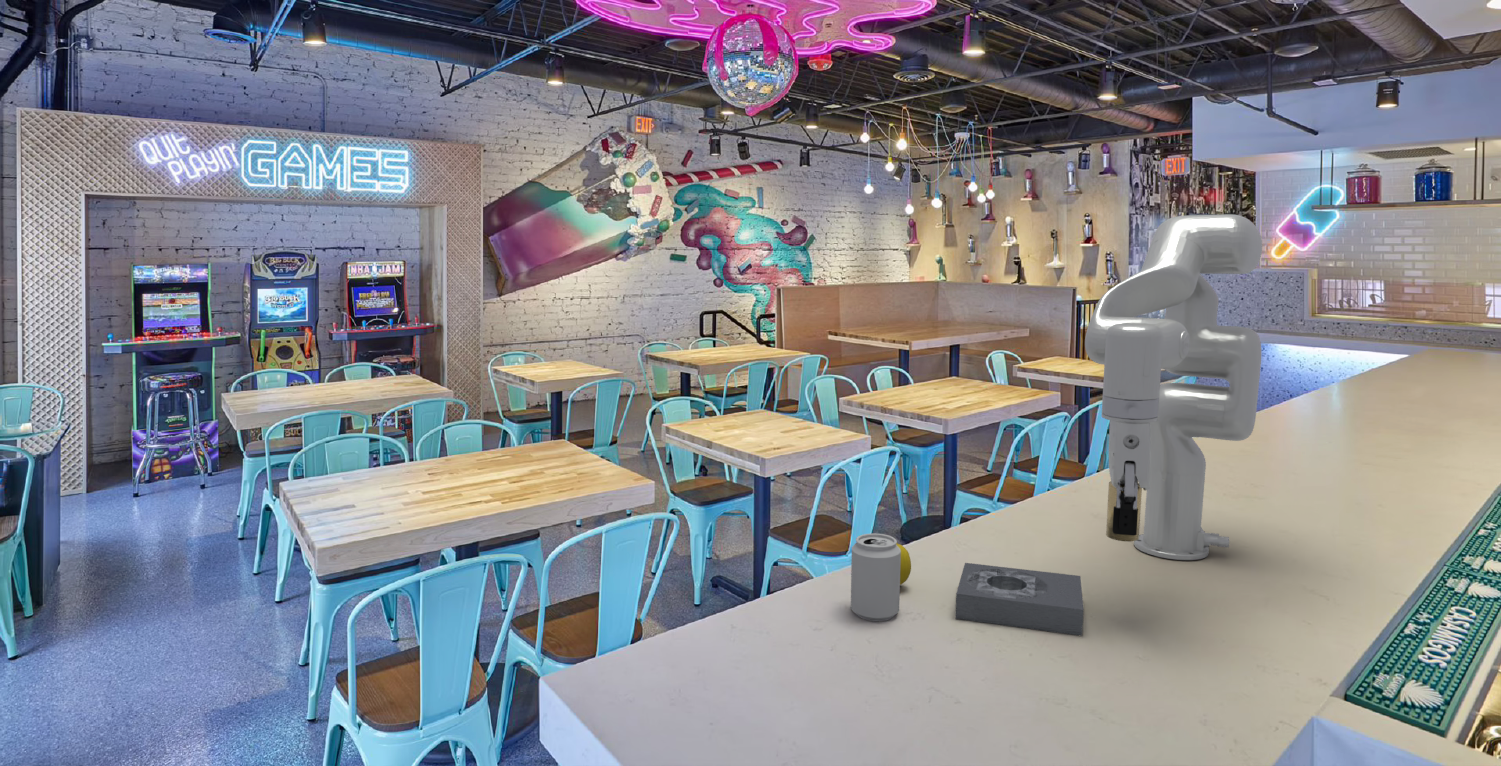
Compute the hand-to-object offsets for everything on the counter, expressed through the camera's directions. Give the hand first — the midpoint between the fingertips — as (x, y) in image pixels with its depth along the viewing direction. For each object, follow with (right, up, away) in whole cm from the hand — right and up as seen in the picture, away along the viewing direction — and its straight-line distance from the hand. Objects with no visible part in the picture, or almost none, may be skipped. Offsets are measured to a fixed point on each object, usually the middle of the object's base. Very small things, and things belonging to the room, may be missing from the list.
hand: (1122, 527), depth 126 cm
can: (-36, -14, +5) cm, 39 cm away
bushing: (0, -1, 0) cm, 1 cm away
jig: (-14, -14, +6) cm, 20 cm away
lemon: (-32, -13, +15) cm, 37 cm away
